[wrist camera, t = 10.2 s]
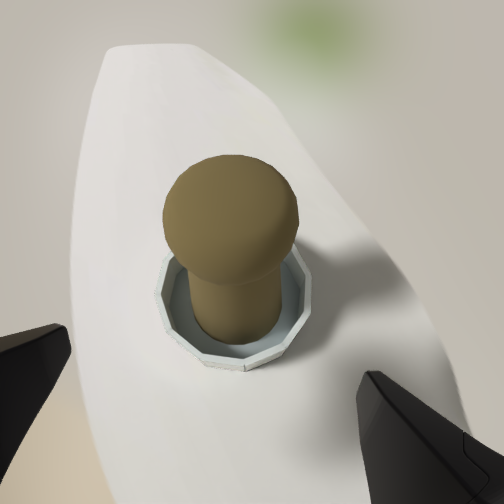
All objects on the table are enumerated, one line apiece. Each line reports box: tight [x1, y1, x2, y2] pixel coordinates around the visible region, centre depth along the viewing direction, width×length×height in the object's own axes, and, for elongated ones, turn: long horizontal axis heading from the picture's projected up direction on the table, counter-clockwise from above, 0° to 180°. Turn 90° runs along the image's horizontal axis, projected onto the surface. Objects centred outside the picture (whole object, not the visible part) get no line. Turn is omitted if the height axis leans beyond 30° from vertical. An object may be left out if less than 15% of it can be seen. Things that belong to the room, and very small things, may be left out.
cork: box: [163, 155, 299, 345], centre depth 14 cm, size 6×6×11 cm
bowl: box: [154, 243, 312, 372], centre depth 19 cm, size 9×9×3 cm
